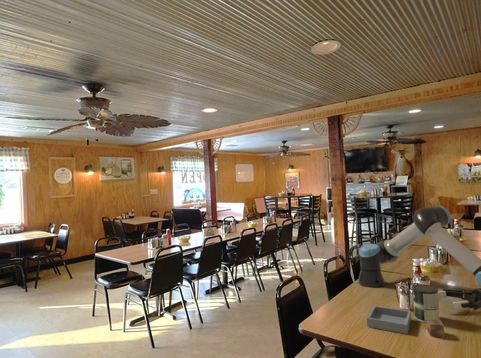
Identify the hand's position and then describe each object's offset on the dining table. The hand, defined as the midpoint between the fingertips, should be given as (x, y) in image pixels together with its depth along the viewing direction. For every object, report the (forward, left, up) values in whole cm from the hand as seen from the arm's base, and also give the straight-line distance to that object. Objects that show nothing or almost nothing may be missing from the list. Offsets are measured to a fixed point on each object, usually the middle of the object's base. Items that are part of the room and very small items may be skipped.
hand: (442, 300), depth 150 cm
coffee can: (-6, -5, -8) cm, 11 cm away
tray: (-20, -17, -8) cm, 27 cm away
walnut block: (-2, -20, -8) cm, 21 cm away
